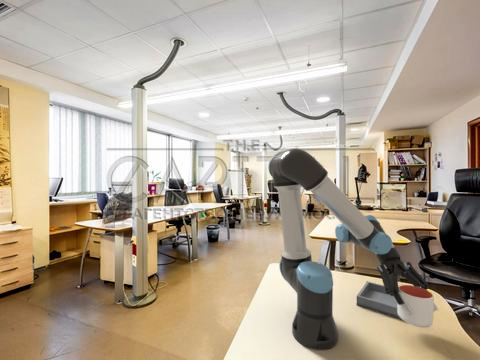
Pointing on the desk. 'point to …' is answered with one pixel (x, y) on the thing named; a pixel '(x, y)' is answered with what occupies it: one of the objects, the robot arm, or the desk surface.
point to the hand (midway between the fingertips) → (422, 312)
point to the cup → (417, 306)
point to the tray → (377, 299)
